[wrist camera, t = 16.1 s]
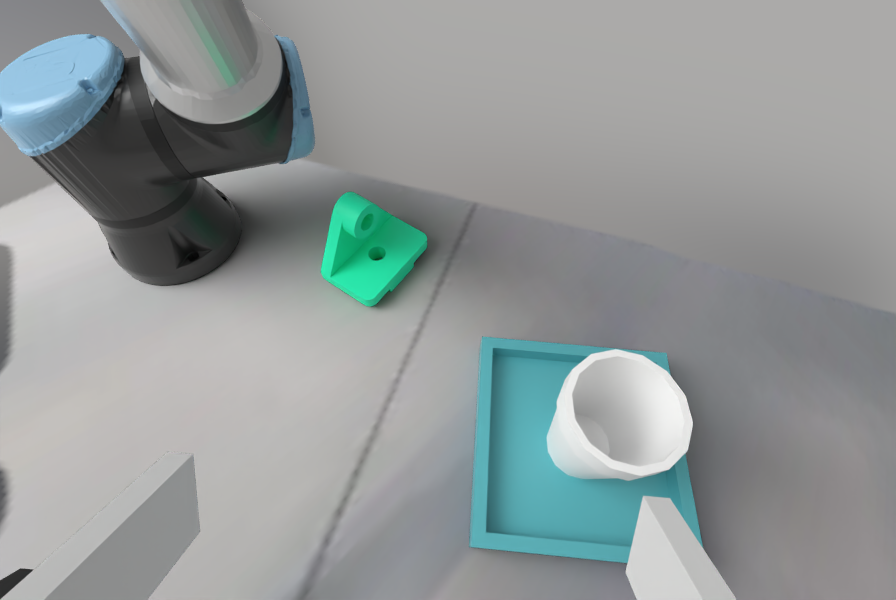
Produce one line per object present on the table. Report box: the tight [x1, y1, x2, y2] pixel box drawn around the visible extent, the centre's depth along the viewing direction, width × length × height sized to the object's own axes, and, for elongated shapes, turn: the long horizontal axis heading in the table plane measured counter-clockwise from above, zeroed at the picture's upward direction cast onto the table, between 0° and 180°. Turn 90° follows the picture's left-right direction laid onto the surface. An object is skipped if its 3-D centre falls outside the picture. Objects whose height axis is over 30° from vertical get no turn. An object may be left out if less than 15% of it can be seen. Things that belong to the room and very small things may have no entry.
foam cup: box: [547, 349, 693, 481], centre depth 37 cm, size 10×9×13 cm
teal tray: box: [469, 337, 703, 563], centre depth 43 cm, size 20×20×3 cm
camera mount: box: [321, 192, 427, 306], centre depth 51 cm, size 12×8×10 cm, turn 146°
